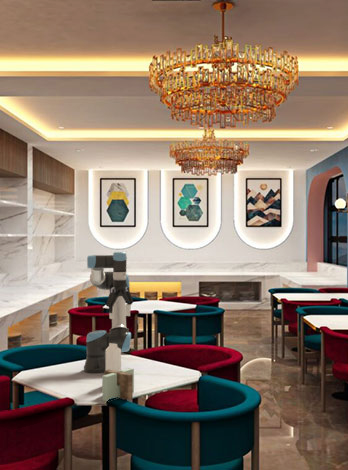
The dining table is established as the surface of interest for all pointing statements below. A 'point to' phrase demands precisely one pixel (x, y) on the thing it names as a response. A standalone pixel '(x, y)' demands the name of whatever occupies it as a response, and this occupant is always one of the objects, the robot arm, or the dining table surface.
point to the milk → (113, 357)
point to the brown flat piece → (123, 383)
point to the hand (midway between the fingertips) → (119, 317)
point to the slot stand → (113, 385)
